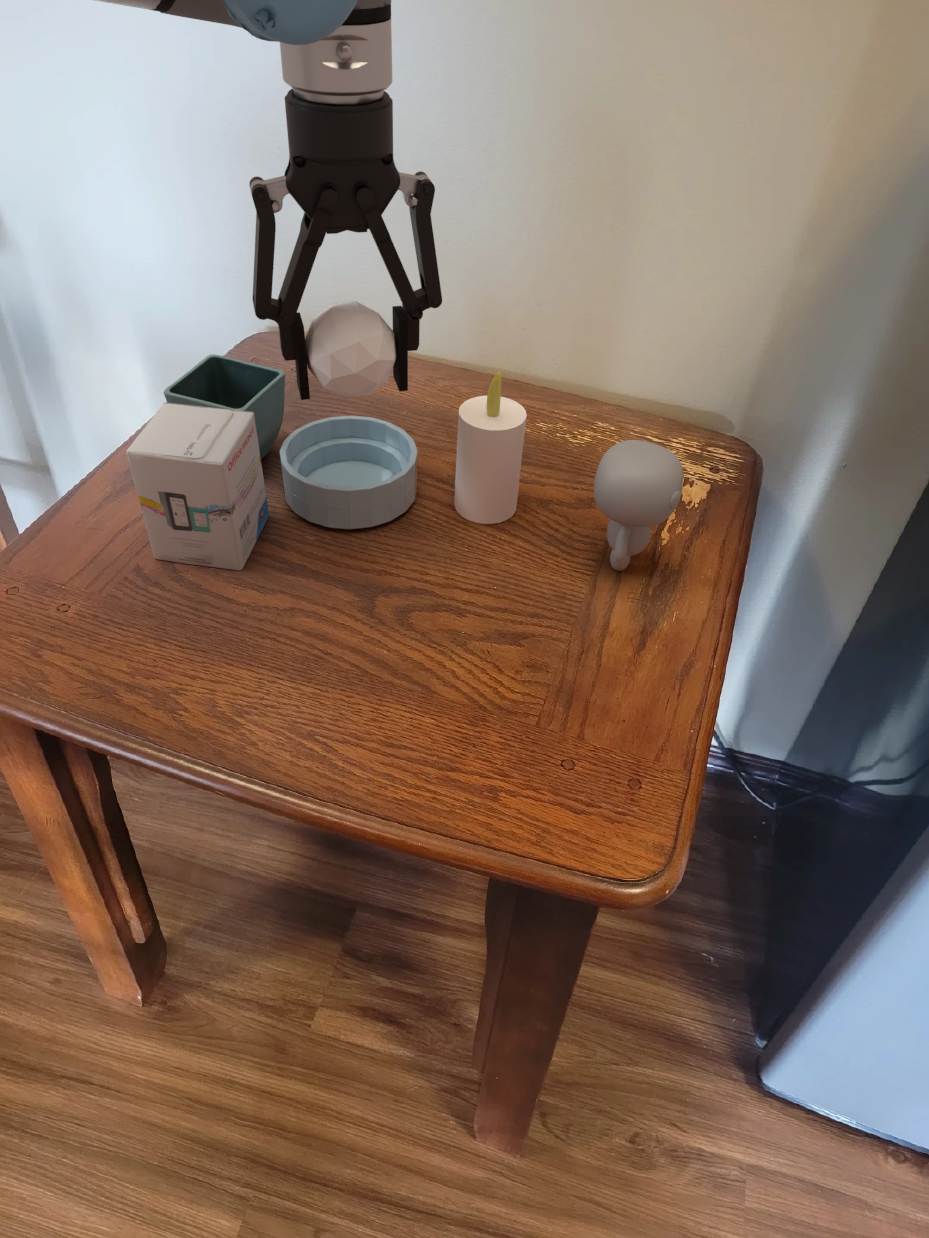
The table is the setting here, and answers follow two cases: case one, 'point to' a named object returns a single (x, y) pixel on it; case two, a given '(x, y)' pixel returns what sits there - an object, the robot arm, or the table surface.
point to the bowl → (349, 471)
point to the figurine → (636, 494)
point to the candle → (489, 456)
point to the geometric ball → (350, 349)
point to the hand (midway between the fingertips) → (352, 387)
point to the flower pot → (235, 392)
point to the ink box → (200, 484)
